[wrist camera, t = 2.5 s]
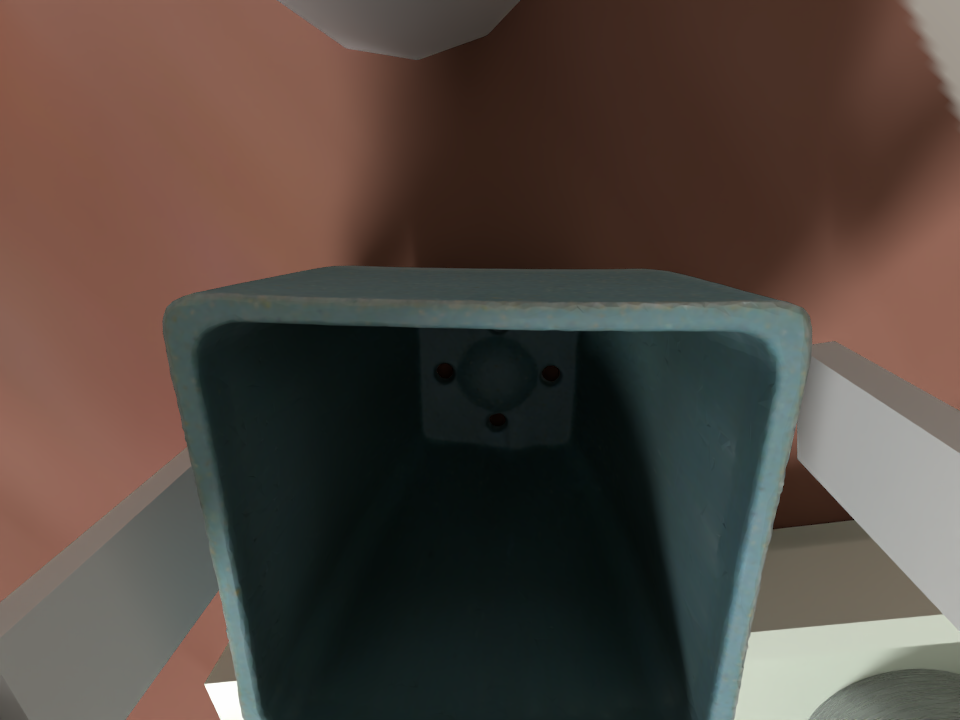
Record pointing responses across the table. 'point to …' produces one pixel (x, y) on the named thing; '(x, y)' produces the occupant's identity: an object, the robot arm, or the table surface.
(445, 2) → the cup
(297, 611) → the flower pot
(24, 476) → the table surface
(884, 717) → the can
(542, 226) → the table surface
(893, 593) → the shallow serving tray
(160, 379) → the table surface
